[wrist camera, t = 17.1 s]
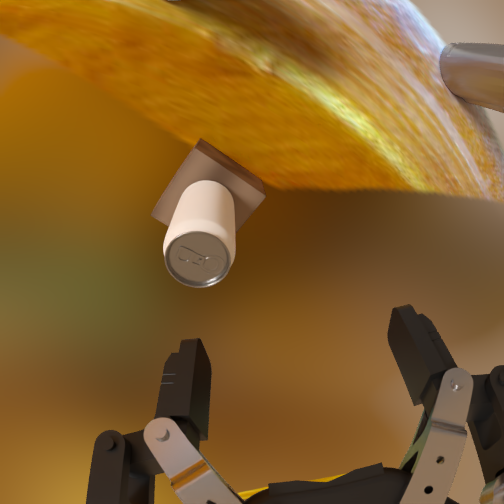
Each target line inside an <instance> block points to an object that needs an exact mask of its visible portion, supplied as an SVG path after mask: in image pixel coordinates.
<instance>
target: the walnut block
mask: <svg viewBox="0 0 504 504" xmlns="http://www.w3.org/2000/svg"><path fill="white" fill-rule="evenodd" d="M203 180H209V181H215V182H217V183H220V184H221V185H223V186H224V187H225V188H227V189H228V191H229V192H230V193H231V195H232V198H233V201H234V211H235V234H236V232H237V231H238V230H239V229H240V227H241V226H242V225H243V224H244V223H245V221H246V220H247V219H248V218H249V217H250V215H251V214H252V213H253V212H254V211H255V209H256V208H257V207H258V206H259V205H260V203H261V202H262V201H263V200H264V199H265V197H266V194H265V190H264V187H263V184H262V180H260V179H259V178H257V177H256V176H255V175H253V174H252V173H250V172H249V171H248V170H246V169H245V168H243V167H242V166H240V165H239V164H238V163H236V162H235V161H233V160H232V159H230V158H229V157H227V156H226V155H224V154H223V153H221V152H220V151H219V150H217V149H216V148H214V147H213V146H211V145H210V144H208V143H207V142H205V141H204V140H202V139H201V138H200V139H199V141H198V142H197V144H196V145H195V146H194V148H193V149H192V151H191V152H190V154H189V155H188V156H187V158H186V159H185V161H184V162H183V164H182V165H181V167H180V168H179V170H178V171H177V173H176V174H175V176H174V177H173V179H172V180H171V182H170V183H169V185H168V186H167V188H166V189H165V191H164V192H163V194H162V196H161V197H160V199H159V201H158V203H157V204H156V206H155V208H154V210H153V212H152V214H151V216H153V217H154V218H156V219H157V220H159V221H161V222H162V223H164V224H166V225H167V226H169V225H170V223H171V220H172V218H173V215H174V212H175V210H176V207H177V205H178V202H179V200H180V198H181V196H182V194H183V192H184V191H185V189H186V188H187V187H189V186H190V185H191V184H193V183H195V182H198V181H203Z"/></svg>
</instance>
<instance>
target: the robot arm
mask: <svg viewBox="0 0 504 504" xmlns="http://www.w3.org/2000/svg"><path fill="white" fill-rule="evenodd" d="M440 70H441V74H442V77H443V80H444V82H445V84H446V86H447V87H448V88H449V90H450V91H451V92H452V93H454V94H455V95H457V96H459V97H462V98H463V99H464V100H465V102H467V103H471V104H475V105H479V106H482V107H486V108H489V109H493V110H496V111H499V112H502V113H504V45H501V44H486V43H451V44H449V45H447V46H446V47H445V48H444V49H443V51H442V54H441V57H440ZM388 342H389V346H390V348H391V350H392V352H393V355H394V357H395V360H396V362H397V364H398V367H399V369H400V371H401V374H402V376H403V379H404V381H405V384H406V386H407V389H408V391H409V394H410V397H411V399H412V402H413V404H414V406H416V405H419V404H423V406H424V411H423V413H422V416H421V419H420V422H419V424H418V427H417V430H416V432H415V435H414V438H413V440H412V443H411V445H410V447H409V450H408V451H407V453H406V455H405V457H404V458H403V460H402V462H401V464H400V467H399V469H396V468H387V467H383V466H382V463H378V464H375V465H371V466H368V467H364V468H360V469H356V470H353V471H351V472H349V473H347V474H345V475H343V476H341V477H338V478H336V479H334V480H332V481H329V482H311V481H290V482H280V483H270V484H268V485H269V488H268V489H265V490H262V491H260V492H258V493H256V494H254V495H252V496H251V497H249V498H248V499H247V500H245V501H244V500H243V499H242V498H241V497H240V496H239V495H238V494H237V493H236V492H235V491H234V489H233V488H232V487H231V486H230V485H229V484H228V483H227V482H226V481H225V480H224V479H223V478H222V477H221V476H220V475H219V473H218V472H217V471H216V470H215V469H214V467H213V466H212V465H211V464H210V463H209V462H208V460H207V459H206V458H205V457H204V455H203V454H202V453H201V452H200V451H199V443H200V441H201V440H202V441H203V440H208V424H209V423H208V422H209V407H210V390H211V375H212V373H211V372H212V371H211V363H210V360H209V357H208V355H207V353H206V350H205V348H204V346H203V343H202V341H201V339H200V338H196V339H185V340H182V341H181V344H180V350H179V353H171V355H170V356H169V358H168V360H167V361H166V362H165V366H164V371H163V376H162V381H161V383H162V384H161V386H160V392H159V397H158V403H157V409H156V414H155V417H154V420H152V421H151V422H150V423H149V424H148V425H147V426H146V428H145V429H143V430H141V431H138V432H134V433H130V434H126V435H121V434H120V433H119V432H117V431H114V430H108V431H105V432H103V433H101V434H100V435H99V436H98V437H97V439H96V441H95V445H94V451H93V456H92V462H91V469H90V476H89V484H88V491H87V499H86V504H154V490H155V475H156V474H160V473H164V472H165V473H166V475H167V476H168V478H169V479H170V481H171V486H172V488H173V490H174V492H175V493H176V494H177V496H178V497H179V498H180V500H181V501H182V502H183V504H459V503H457V502H456V501H454V500H452V499H450V498H449V497H447V495H448V493H449V491H450V488H451V485H452V483H453V480H454V477H455V474H456V471H457V468H458V465H459V462H460V459H461V456H462V453H463V449H464V445H465V442H466V438H467V431H466V430H465V428H464V427H465V423H466V422H467V423H468V426H469V429H470V432H471V435H472V438H473V441H474V444H475V447H476V451H477V454H478V457H479V460H480V464H481V468H482V472H483V476H484V479H485V484H486V485H485V487H484V488H483V490H482V492H481V496H480V499H479V502H480V504H504V365H500V366H496V367H495V368H494V369H493V370H492V371H491V373H490V374H484V375H470V373H468V372H467V371H466V370H464V369H462V368H458V367H457V365H456V363H455V362H454V360H453V358H452V356H451V354H450V352H449V351H448V349H447V347H446V345H445V343H444V342H443V340H442V339H441V336H440V335H439V333H438V332H437V330H436V328H435V326H434V325H433V323H432V321H431V320H429V319H428V318H427V317H426V316H424V315H423V314H419V315H417V313H416V312H415V310H414V308H413V307H412V306H411V305H410V304H408V305H404V306H400V307H396V308H393V310H392V314H391V319H390V324H389V328H388Z"/></svg>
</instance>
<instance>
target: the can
mask: <svg viewBox="0 0 504 504" xmlns="http://www.w3.org/2000/svg"><path fill="white" fill-rule="evenodd" d="M235 248H236V247H235V211H234V201H233V198H232V195H231V193H230V192H229V191H228V189H227V188H225V187H224V186H223V185H221V184H220V183H217V182H215V181H209V180H203V181H198V182H195V183H193V184H191V185H190V186H189V187H187V188H186V189H185V191H184V192H183V194H182V196H181V198H180V200H179V202H178V205H177V207H176V210H175V212H174V215H173V218H172V220H171V223H170V225H169V228H168V231H167V234H166V237H165V240H164V246H163V249H164V250H163V251H164V256H165V264H166V267H167V270H168V271H169V273H170V274H171V275H172V277H174V278H175V279H176V280H177V281H179V282H180V283H182V284H184V285H187V286H190V287H196V288H203V287H209V286H212V285H215V284H217V283H218V282H220V281H221V280H222V279H223V278H224V277H225V276H226V275H227V273H228V272H229V269H230V266H231V265H232V263H233V261H234V257H235Z"/></svg>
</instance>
